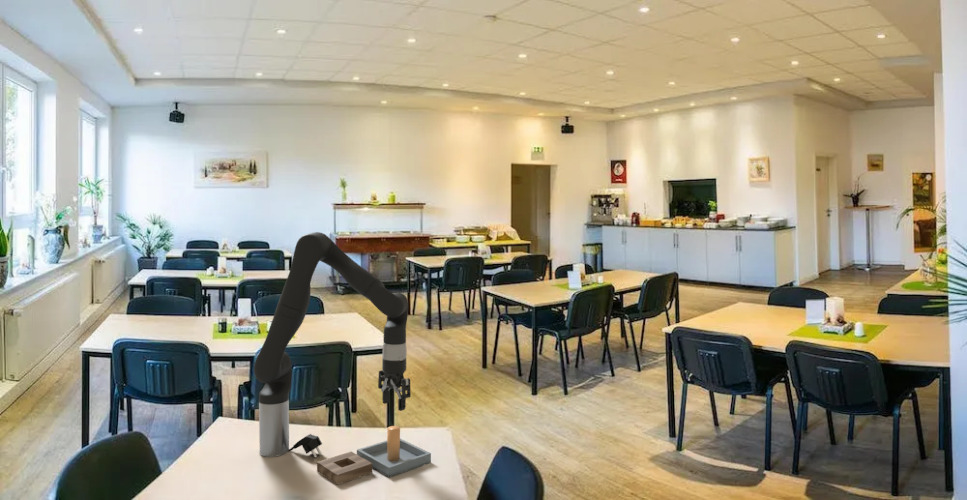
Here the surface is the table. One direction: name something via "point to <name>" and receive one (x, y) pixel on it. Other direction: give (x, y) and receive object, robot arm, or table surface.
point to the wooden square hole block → (344, 467)
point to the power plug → (309, 444)
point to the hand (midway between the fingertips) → (393, 406)
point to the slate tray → (408, 460)
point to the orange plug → (393, 443)
